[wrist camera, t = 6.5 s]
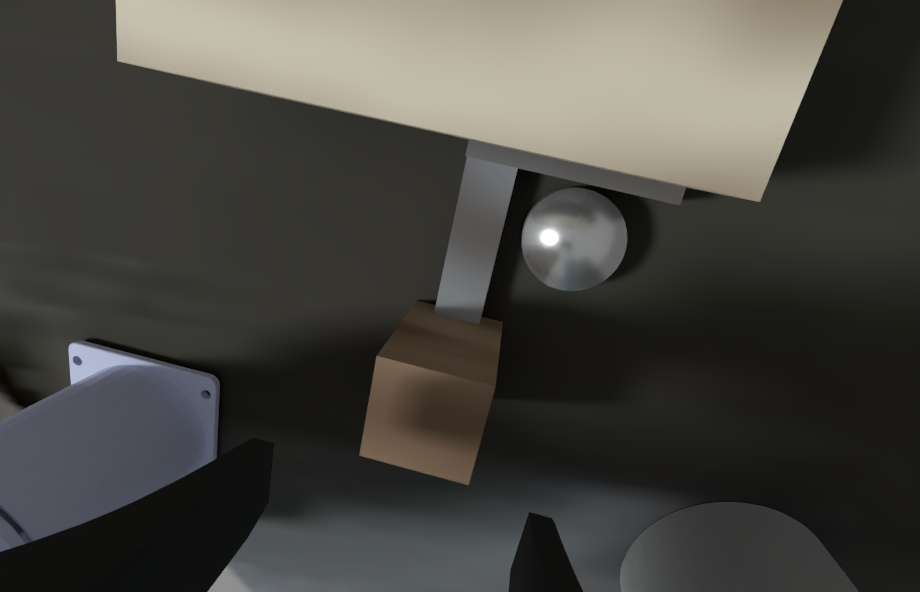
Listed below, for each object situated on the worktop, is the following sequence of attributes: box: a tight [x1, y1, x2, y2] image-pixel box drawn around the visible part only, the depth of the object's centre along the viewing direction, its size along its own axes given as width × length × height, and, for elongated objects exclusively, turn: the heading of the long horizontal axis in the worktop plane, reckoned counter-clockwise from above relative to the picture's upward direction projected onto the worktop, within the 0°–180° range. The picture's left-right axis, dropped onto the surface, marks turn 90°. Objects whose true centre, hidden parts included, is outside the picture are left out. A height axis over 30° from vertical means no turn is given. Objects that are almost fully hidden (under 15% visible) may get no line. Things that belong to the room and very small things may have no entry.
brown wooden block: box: [359, 140, 686, 485], centre depth 17 cm, size 11×9×6 cm
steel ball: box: [522, 187, 627, 291], centre depth 18 cm, size 4×4×2 cm
